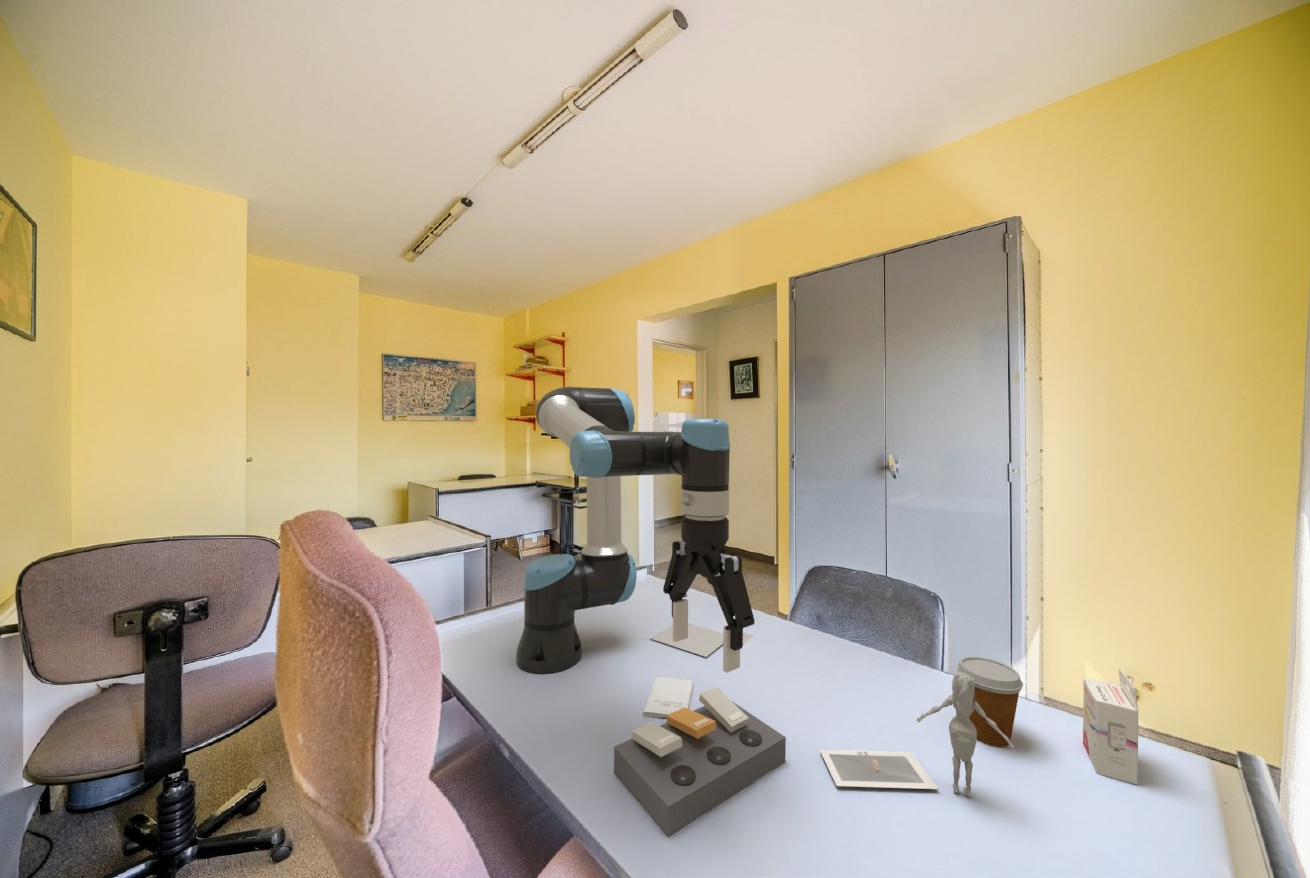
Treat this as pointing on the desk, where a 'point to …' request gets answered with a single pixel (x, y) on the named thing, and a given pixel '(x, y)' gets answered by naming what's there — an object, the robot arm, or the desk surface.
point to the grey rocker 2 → (723, 709)
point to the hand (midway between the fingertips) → (704, 653)
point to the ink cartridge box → (1111, 728)
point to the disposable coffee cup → (993, 697)
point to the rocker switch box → (698, 769)
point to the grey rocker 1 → (656, 739)
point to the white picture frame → (876, 769)
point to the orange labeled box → (691, 722)
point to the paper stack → (696, 639)
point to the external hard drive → (668, 697)
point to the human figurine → (963, 726)
